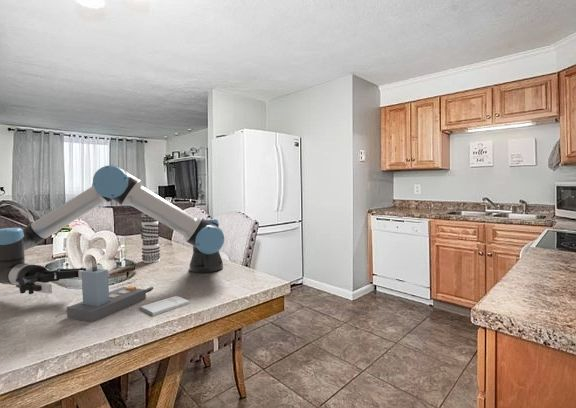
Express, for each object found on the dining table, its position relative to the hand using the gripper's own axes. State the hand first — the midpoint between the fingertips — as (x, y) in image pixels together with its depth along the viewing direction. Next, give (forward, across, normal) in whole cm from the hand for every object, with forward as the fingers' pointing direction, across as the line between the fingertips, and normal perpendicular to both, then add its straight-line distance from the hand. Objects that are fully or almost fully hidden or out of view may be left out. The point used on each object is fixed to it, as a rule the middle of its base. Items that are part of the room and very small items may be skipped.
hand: (73, 282), depth 99 cm
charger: (+10, 0, -6) cm, 12 cm away
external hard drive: (+26, -11, -9) cm, 30 cm away
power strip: (+10, -9, -9) cm, 16 cm away
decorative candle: (-24, -58, -9) cm, 63 cm away
